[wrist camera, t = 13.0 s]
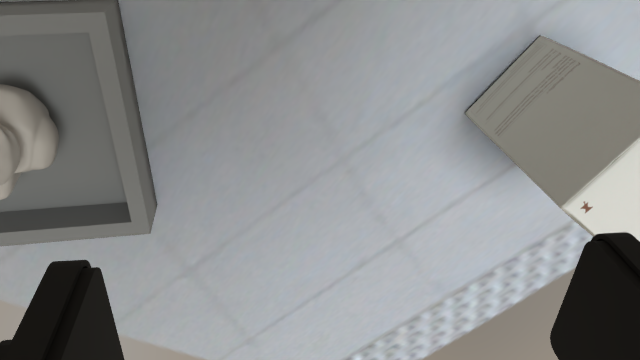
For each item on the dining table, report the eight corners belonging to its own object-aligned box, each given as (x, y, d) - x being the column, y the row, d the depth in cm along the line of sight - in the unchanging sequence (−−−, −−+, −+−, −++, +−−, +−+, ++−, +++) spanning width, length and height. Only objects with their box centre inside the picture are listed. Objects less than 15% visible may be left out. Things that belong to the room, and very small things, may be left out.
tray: (-153, 7, 28) (-200, 22, 25) (117, -2, 29) (104, 12, 26) (-57, 221, 35) (-84, 253, 32) (157, 204, 36) (150, 233, 33)
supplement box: (521, 166, 39) (630, 274, 29) (461, 111, 36) (558, 209, 26) (599, 95, 37) (749, 182, 26) (543, 29, 34) (686, 98, 23)
